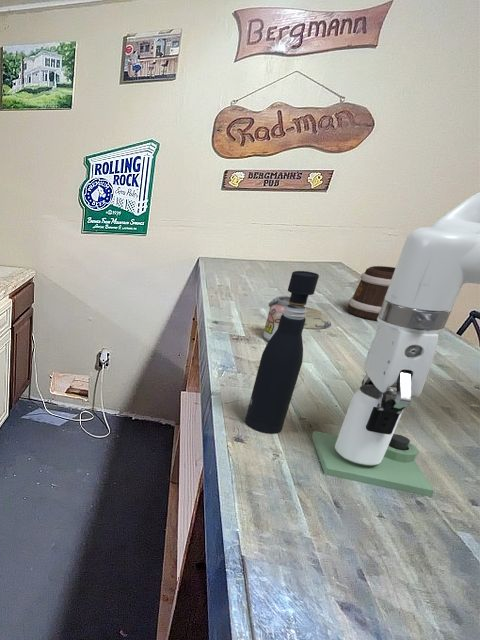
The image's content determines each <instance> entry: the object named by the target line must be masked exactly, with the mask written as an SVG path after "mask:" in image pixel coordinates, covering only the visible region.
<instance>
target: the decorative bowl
mask: <svg viewBox="0 0 480 640" xmlns="http://www.w3.org/2000/svg"><path fill="white" fill-rule="evenodd" d="M305 307H306V311H307V312H306V313H305V315H306V316H304V318H305V319H306V321H305V324H304V327H303V329H308V330H309V329H310V330H324V329H328V328H330V327H331V326H332V323H331V319H330V318H329V317H328V316H327V315H325V314H324V313H322V311H321V310H319V309H317V308H313V307H310V306H305Z"/></svg>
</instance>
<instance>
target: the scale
mask: <svg viewBox="0 0 480 640" xmlns="http://www.w3.org/2000/svg"><path fill="white" fill-rule="evenodd" d="M338 436H339V434H333V433H328V432H322V431H317V430H313V431H312V434H311V439H312V442H313V445H314V448H315V452H316V454H317V457H318V460H319V462H320V465H321V468H322V471H323V474H324V475H325V476H330V477H335V478H338V479H339V478H340V479H342V480H343V479H344V480H348V481H353V482H357V483H362V484H367V485H371V486H376V487H380V488H385V489H391V490H393V491H394V490H395V491H399V492H404V493H407V494H408V493H409V494H413V495H418V496H421V497H422V496H423V497H427V498H432V496H433V495H434V492H435V490H434V488H433V486H432V485H431V484H430V482H429V480H428V479H427V477H426V475H425V474H424V473H423V471H422V470H421V468H420V467H419V465H418V464H417V462H416V461H415V460H416V459H417V456H418V454H419V449H418V447H416V445H414V444H413V443H411V442H409V445H408V447H407V449H406V450H404V451H403V450H398V449H395V448H392V447H390V446H389V445H388V448H387V450H386V452H385V455H384V457H383V459H382V461H381V463H379V464H376V465H373V466H365V465H360V464H356V463H353V462H351V461H348V460H346V459H345V458H343V457H342V456H340V455H339V454H338V453H337V451H336V449H335V444H336V441H337V439H338Z"/></svg>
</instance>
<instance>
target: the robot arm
mask: <svg viewBox="0 0 480 640" xmlns="http://www.w3.org/2000/svg"><path fill="white" fill-rule="evenodd" d="M394 268H395V271H394V274H393V277H392V279H391V282H390V285H389V287H388V290H387V293H386V296H385V299H384V301H383V304H382V307H381V309H380V312H379V315H378V318H377V321H376V322H378V323H379V326H378V328H377V329H376V332H375V335H374V337H373V339H372V341H371V344H370V346H369V348H368V350H367V354H366V358H365V360H364V364H363V368H364V372H365V375H364V376H363V378H362V381H361V386H362V385H375V386H376V388H377V389H378V390H379V391H380V393H379V399H378V404H377V407H373V410H372V412H371V415H370V417H369V420H368V423H367V425H366V429H367V430H368V431H371V432H377V433H383V434H391V433H392V431H393V429H394V427H395V424H396V422H397V419H398V417H399V415H400V414H401V413H402V414H403V412H404V409H406V407H407V406H408V405H410V404H411V403H412V398H418V397H419V396H420V395H421V393H422V392H423V388H424V385H425V384H426V380H427V378H428V375H429V373H430V370H431V367H432V364H433V361H434V357H435V355H436V350H437V345H438V340H439V334H441V333H442V332H443V331H444V328H445V326H446V324H447V322H448V319H449V318H450V316H451V313H452V311H453V308H454V306H455V303H456V302H457V298H458V297H459V294H460V292H461V289H462V288H463V285H464V284H476V285H477V284H478V285H480V191H479V192H477V193H475V194H473V195H471V196H470V197H468V198H466V199H464V200H463V201H461V203H459V204H458V205H456V206H455V207H454V208H452V209H451V210H450V211H448V212H446V213H445V214H444V215H443V216H441V217H440V218H438V219H437V221H435V222H434V223H433V224H432V225H431V226H423V227H422V226H421V227H418V228H415V229H413V230H412V231H411V232H410V233H409V234H407V236H406V238H405V241H404V243H403V245H402V249H401V251H400V254H399V257H398V260H397V263H396V266H395V267H394ZM387 388H392V389H393V388H395V389H396V390H395V391H397V392H395V391H388V390H387ZM387 395H393V396H396V397H395V398H394V399H390V400H388V401H386V397H387ZM402 411H403V412H402ZM402 414H401V415H402Z"/></svg>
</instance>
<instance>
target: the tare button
mask: <svg viewBox="0 0 480 640" xmlns="http://www.w3.org/2000/svg"><path fill="white" fill-rule="evenodd" d="M409 443H411V440H410V439H409V438H408V437H406V436H404V435H401V434H398V433H394V434H393V436H392V438H391V441H390V443H389V446H390V447H392V448H395V449H398V450H403V451H404V450H406V449H407V447H408V445H409Z"/></svg>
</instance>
